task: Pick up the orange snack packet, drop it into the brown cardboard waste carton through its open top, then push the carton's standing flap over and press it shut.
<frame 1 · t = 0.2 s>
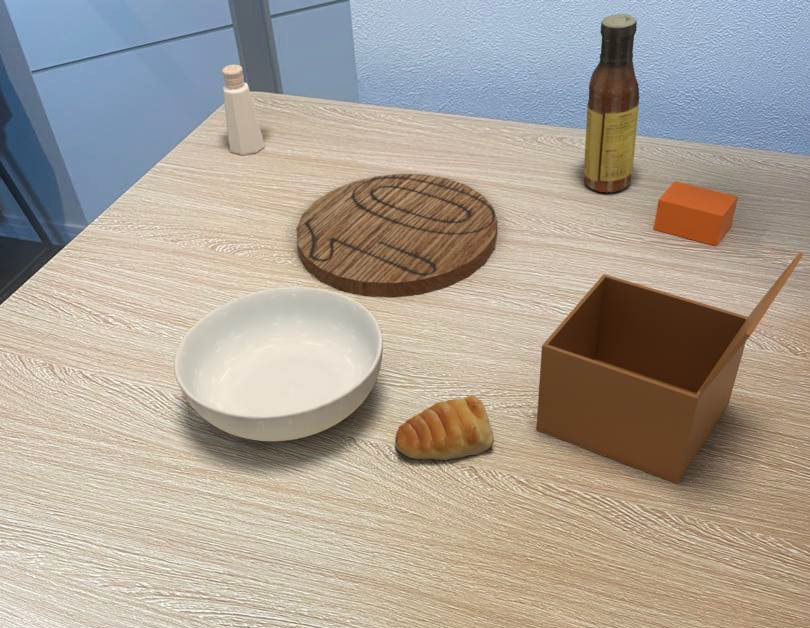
serving bowl: (288, 400, 96), on the table
pastry: (449, 442, 90), on the table
sauce bottle: (605, 184, 120), on the table
pepper shaker: (247, 147, 133), on the table
trivet: (397, 239, 115), on the table
carton: (632, 417, 91), on the table
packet: (692, 228, 112), on the table
flap: (751, 322, 77), point 14 cm above the table, hinge at 110.0°
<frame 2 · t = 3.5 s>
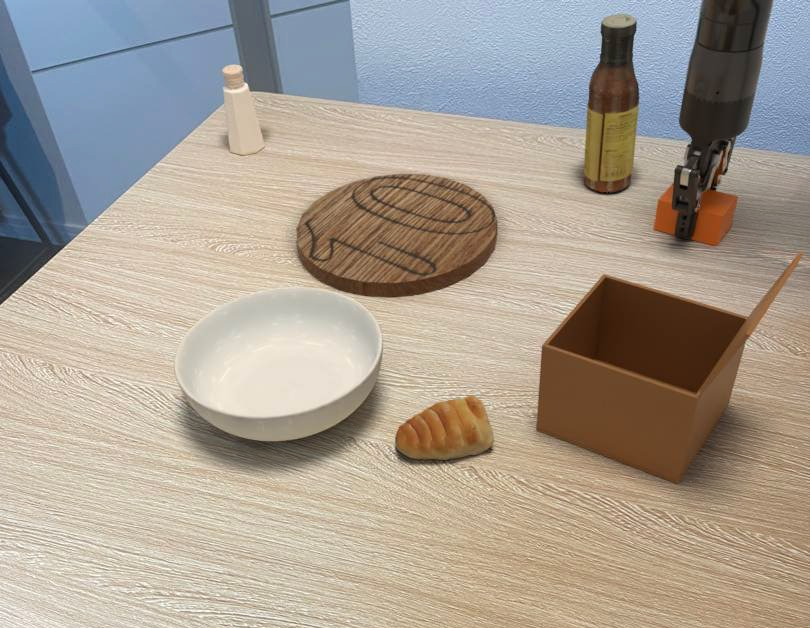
hand: (692, 224, 112), 0 cm above the table, tool pointing down, fingers closed on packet, 5 cm apart
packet: (692, 228, 112), on the table, touching gripper
everything else where it was.
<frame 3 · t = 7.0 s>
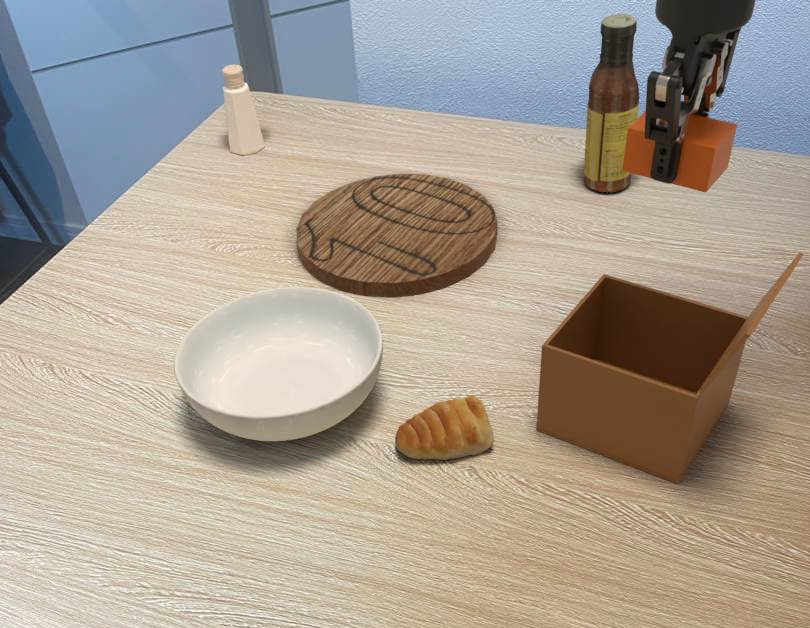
hand: (675, 165, 82), 20 cm above the table, tool pointing down, fingers closed on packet, 5 cm apart
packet: (674, 169, 83), point 20 cm above the table, touching gripper
everything else where it was.
when the fingers open (10 cm above the table, at t = 10.7 s): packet drops 10 cm, resting on carton.
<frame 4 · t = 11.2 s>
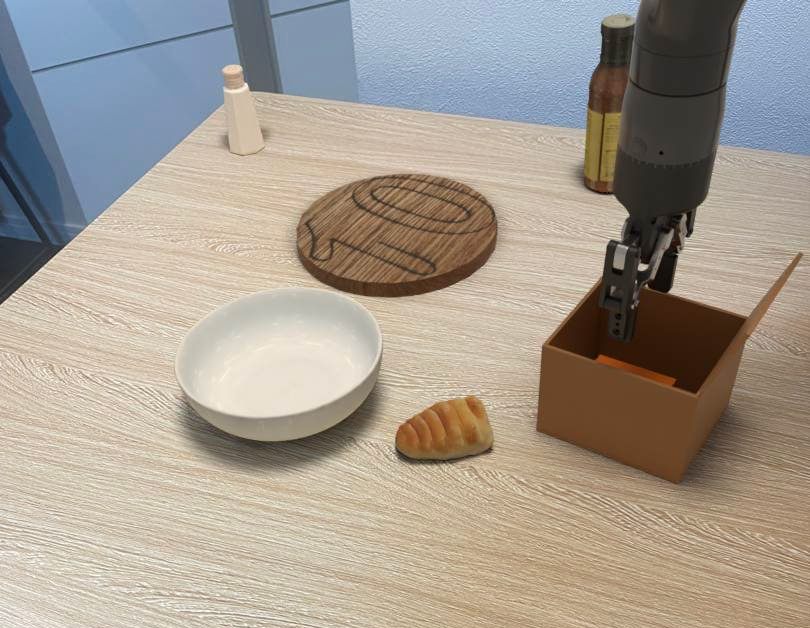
hand: (640, 313, 82), 12 cm above the table, tool pointing down, fingers open, 8 cm apart
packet: (622, 412, 91), resting on carton
everything else where it was.
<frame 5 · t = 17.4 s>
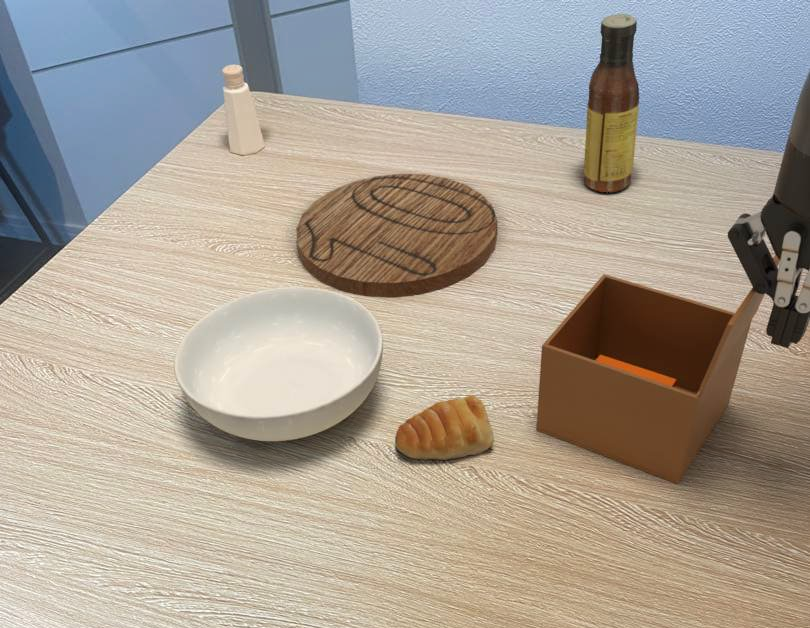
hand: (783, 340, 76), 14 cm above the table, tool pointing down, fingers closed
flap: (743, 317, 77), point 15 cm above the table, hinge at 97.7°, touching gripper
everything else where it was.
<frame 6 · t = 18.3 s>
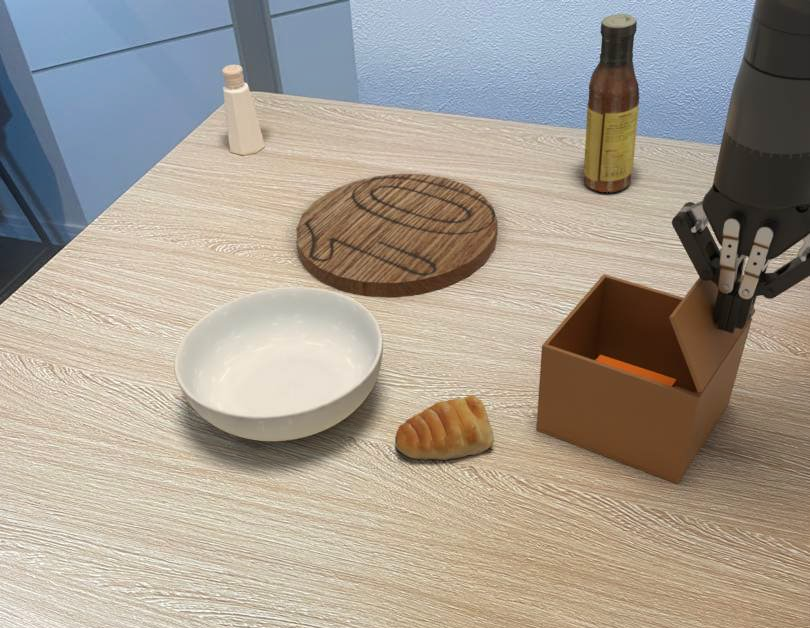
hand: (729, 326, 78), 14 cm above the table, tool pointing down, fingers closed
flap: (714, 314, 78), point 14 cm above the table, hinge at 60.0°, touching gripper
everything else where it was.
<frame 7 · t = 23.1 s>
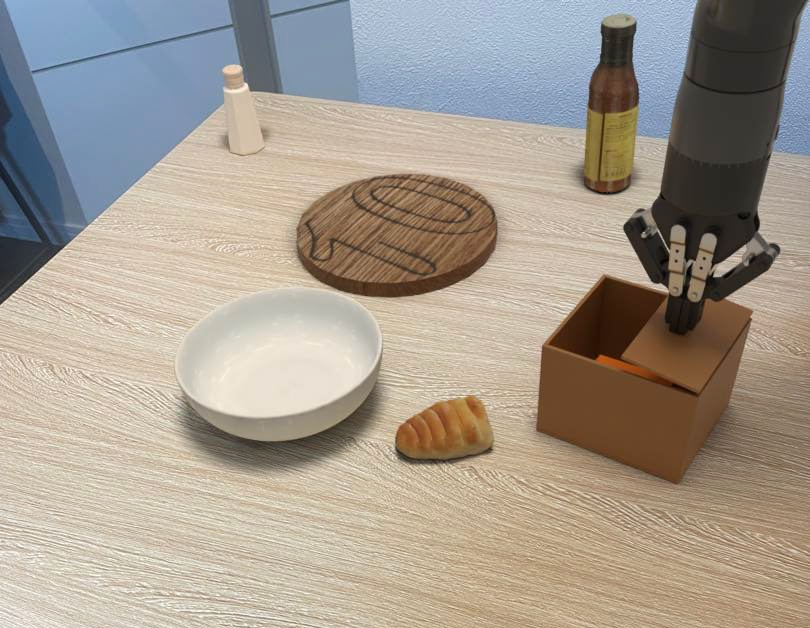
hand: (681, 328, 81), 12 cm above the table, tool pointing down, fingers closed
flap: (688, 334, 81), point 11 cm above the table, hinge at 7.4°, touching gripper
everything else where it was.
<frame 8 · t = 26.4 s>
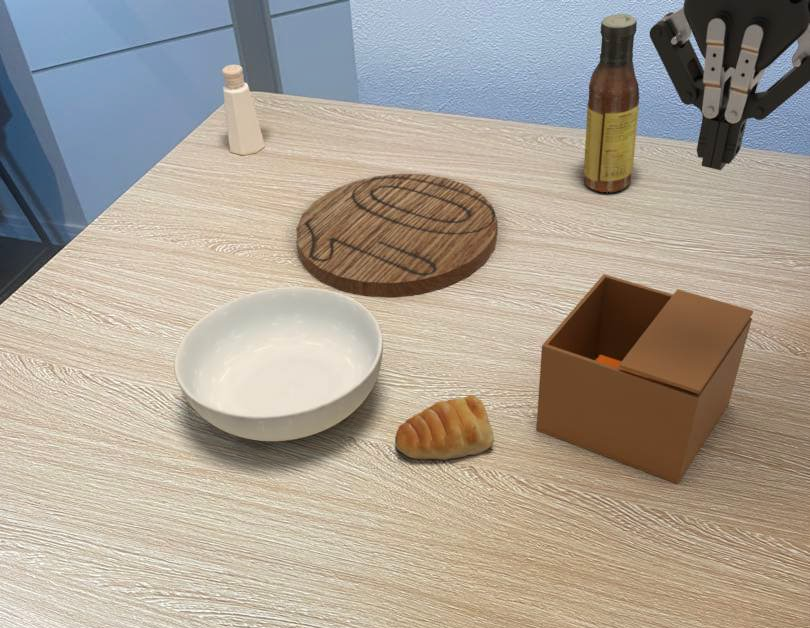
hand: (715, 163, 69), 27 cm above the table, tool pointing down, fingers closed
flap: (687, 338, 81), point 11 cm above the table, hinge at -0.5°
everything else where it was.
at the end: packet inside the target area in the carton (1.1 cm from its centre), point 0.4 cm above the carton's base; flap at +0° (first picture: +110°) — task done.
